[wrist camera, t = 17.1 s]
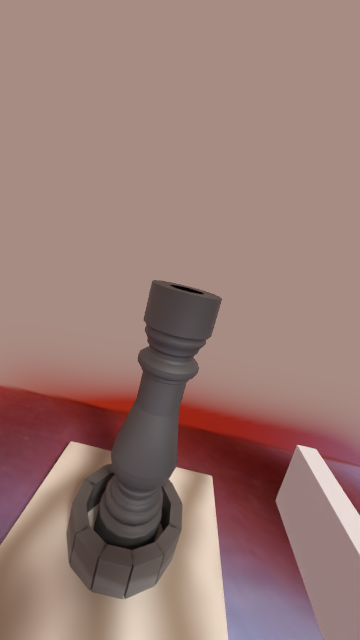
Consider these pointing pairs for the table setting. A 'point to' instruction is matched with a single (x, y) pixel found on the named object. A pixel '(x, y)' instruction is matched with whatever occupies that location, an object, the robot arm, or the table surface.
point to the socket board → (111, 562)
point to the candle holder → (154, 414)
